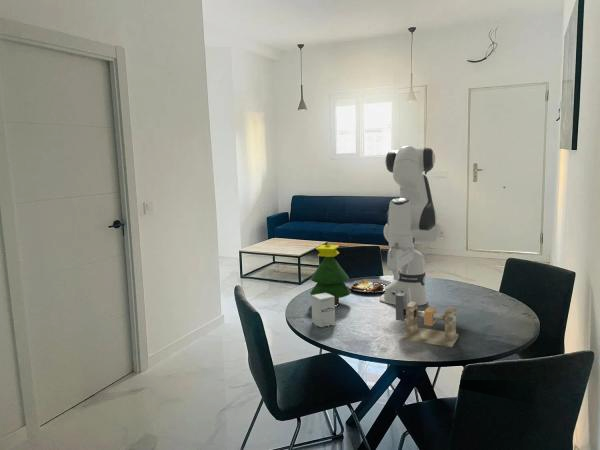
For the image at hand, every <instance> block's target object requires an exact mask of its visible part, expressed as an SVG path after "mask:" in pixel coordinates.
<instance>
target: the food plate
mask: <svg viewBox="0 0 600 450" xmlns="http://www.w3.org/2000/svg"><path fill="white" fill-rule="evenodd" d="M392 282H393V281H390V280H385V279H375V278H373V279H372V278H365V279H364V278H363V279H359V280H353V281H351V282H350V283H349V284H347V285H346V286H347V287H348V288H349V290H350V291H351V290H352V291H353V292H359V293H360V292H362V293H365V292H367V294H368V293H369V292H372V293H384V291H383V289H385V287H386V286H388V285H389V284H390V283H392ZM374 283H378V284H374ZM359 284H360V285H359ZM381 284H383V285H385V287H384V286H383V285H381ZM357 285H358V286H357ZM371 285H373V288H369V287H370V286H371ZM367 288H369V289H367ZM364 290H366V291H364ZM369 294H370V293H369Z"/></svg>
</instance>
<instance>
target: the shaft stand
mask: <svg viewBox="0 0 600 450" xmlns="http://www.w3.org/2000/svg"><path fill="white" fill-rule="evenodd" d="M414 310H417V311H419V310H418V302H410V303H409V304H408V305H407V306H406V319H405V320H406V321H405V322H406V323H405V324H406V327H405V328H406V332H405V333H404V334H403V340H406V339H408V341H413V342H417V343H425V344H430V345H435V346H436V345H437V346H441V347H442V346H443V347H448V348H453V346H454V345H455V343H456V342H457V340H458V339H459V333H457V321H456V322H453V316H456V317H457V307H455V306H448V307H447V308H446V310H445V311H444V314H445V321H444V330H436V329H431V328H423V327H419V326H418V325H419V323H418V321H419V320H418V319H419V317H415V316H414Z"/></svg>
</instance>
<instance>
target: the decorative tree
mask: <svg viewBox="0 0 600 450" xmlns="http://www.w3.org/2000/svg"><path fill="white" fill-rule="evenodd" d="M339 247H340V244H330V243H327V244H320V245H319V246H317V247H316V248H315V250H317V252H319V253H318V254H317V255H316V257H323V259H322V261H321V262H320V264H319V265H318V267H317V268H316V269H315V271H314V272H313V274H312V276H311V277H310V281H312V282H314V283H316V284H315V285H314V286H313V288H312V289H311V291H310V295H316V294H321V293H328V294H330V295H332V296H334V300H335V305H337V304H339V305H340V301H339V300H340V298H344V297H347V296H350V295H351V293H352V291H351V289H349V288H348V287H347V285H346V284H345V283H344V282H346V281H348V280H349V279H350V277H349V275H348V274H347V273H346V272H345V270H344V269H343V268H342V266H341V265H340V264H339V261H337V260H336V258H335V257H336V256H338V254H340V252H339V251H338V250H337V249H338V248H339Z"/></svg>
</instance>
